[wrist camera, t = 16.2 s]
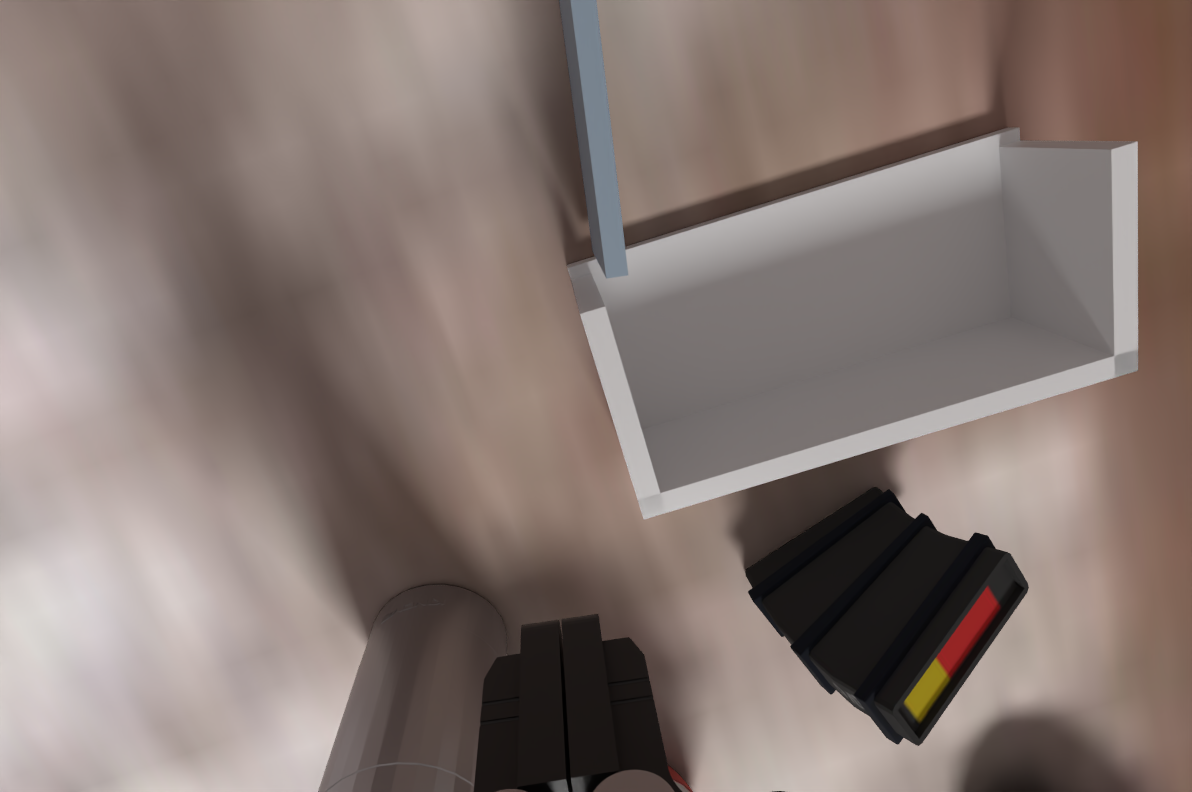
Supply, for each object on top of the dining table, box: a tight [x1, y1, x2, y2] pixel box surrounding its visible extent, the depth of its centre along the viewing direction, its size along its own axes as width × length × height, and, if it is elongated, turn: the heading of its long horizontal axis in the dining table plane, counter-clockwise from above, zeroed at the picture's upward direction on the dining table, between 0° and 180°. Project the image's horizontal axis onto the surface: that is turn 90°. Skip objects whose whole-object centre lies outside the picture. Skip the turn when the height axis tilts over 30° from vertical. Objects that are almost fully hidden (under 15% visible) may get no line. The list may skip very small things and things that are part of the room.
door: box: [559, 0, 628, 279], centre depth 31 cm, size 2×23×8 cm, turn 8°
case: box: [567, 127, 1138, 519], centre depth 37 cm, size 12×26×9 cm, turn 106°
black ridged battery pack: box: [745, 487, 1029, 746], centre depth 43 cm, size 4×13×15 cm, turn 126°
